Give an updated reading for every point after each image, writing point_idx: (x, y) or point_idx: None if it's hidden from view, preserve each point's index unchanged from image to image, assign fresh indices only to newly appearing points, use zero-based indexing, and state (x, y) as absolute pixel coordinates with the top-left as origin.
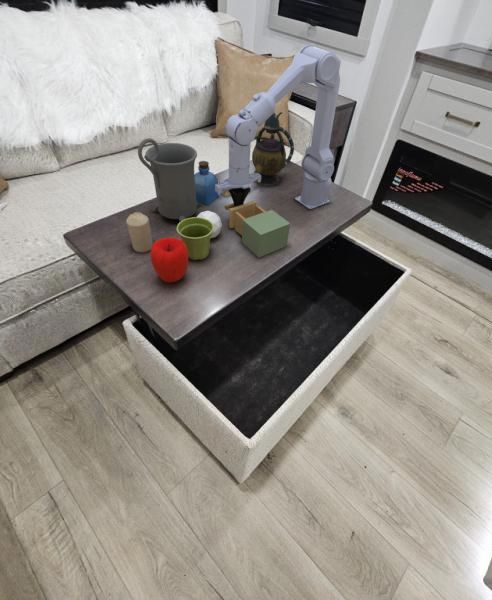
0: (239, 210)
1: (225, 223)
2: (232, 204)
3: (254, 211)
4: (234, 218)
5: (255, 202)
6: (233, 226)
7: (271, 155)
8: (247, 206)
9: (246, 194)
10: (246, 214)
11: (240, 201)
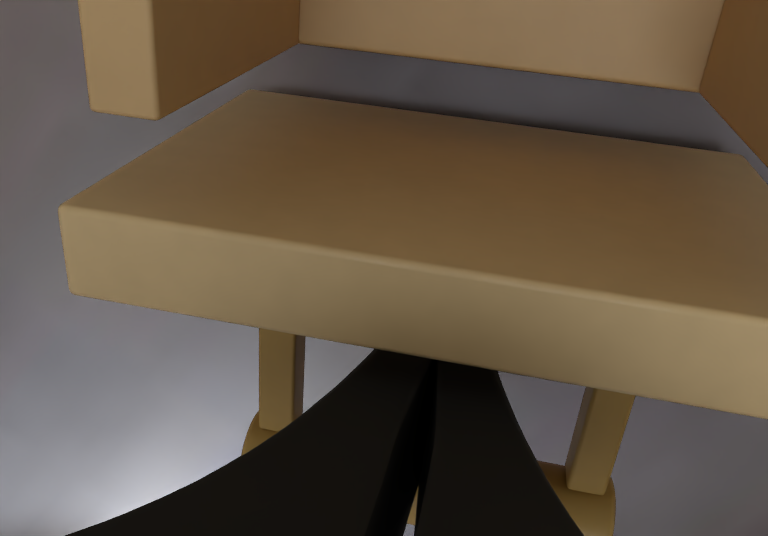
0: (600, 259)
1: None
2: None
3: (205, 140)
4: (714, 212)
5: (80, 217)
6: (697, 156)
7: None
8: (346, 236)
9: (214, 525)
10: (404, 164)
11: (449, 444)
